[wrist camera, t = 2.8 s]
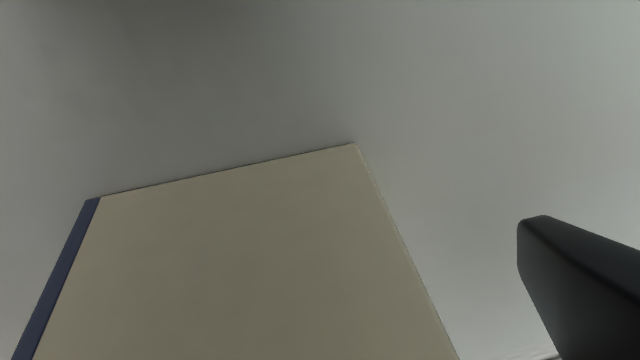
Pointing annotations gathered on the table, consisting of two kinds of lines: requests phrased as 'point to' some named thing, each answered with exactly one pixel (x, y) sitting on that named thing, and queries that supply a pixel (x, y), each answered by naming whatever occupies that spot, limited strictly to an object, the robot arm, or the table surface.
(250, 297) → the cream book
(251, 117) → the table surface
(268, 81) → the table surface
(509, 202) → the table surface
